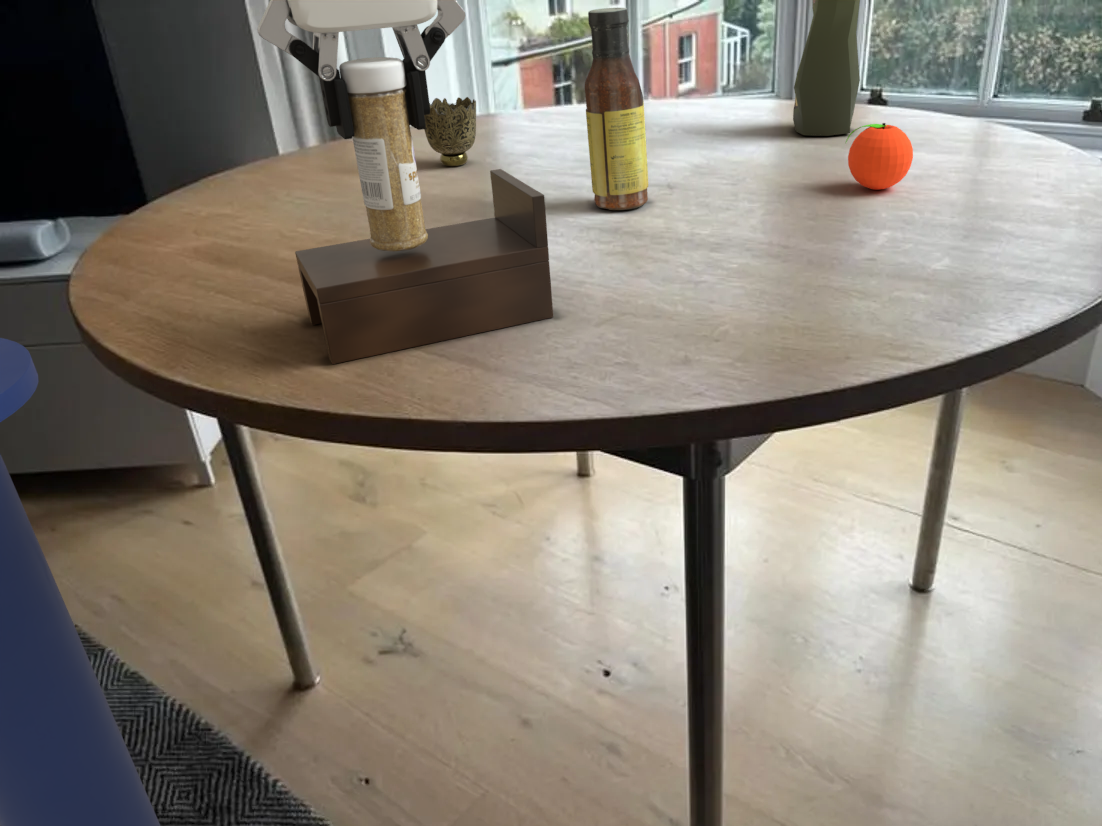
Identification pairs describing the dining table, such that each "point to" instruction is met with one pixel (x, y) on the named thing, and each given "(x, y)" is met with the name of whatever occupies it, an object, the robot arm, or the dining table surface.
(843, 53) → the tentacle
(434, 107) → the cup
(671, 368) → the dining table surface
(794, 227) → the dining table surface
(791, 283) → the dining table surface
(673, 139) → the dining table surface
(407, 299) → the shelf
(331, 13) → the robot arm
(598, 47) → the sauce bottle
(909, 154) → the clementine
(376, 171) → the sprinkles bottle
